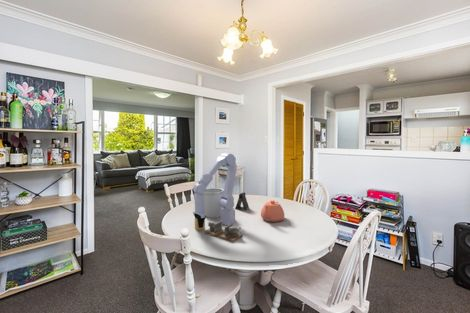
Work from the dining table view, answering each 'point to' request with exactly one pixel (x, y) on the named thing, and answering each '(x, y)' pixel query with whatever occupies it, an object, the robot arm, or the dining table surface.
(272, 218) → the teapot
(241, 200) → the black a-shaped stand
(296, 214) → the dining table surface
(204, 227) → the coupler block
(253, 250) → the dining table surface
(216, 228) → the shaft stand
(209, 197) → the utensil holder
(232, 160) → the robot arm
